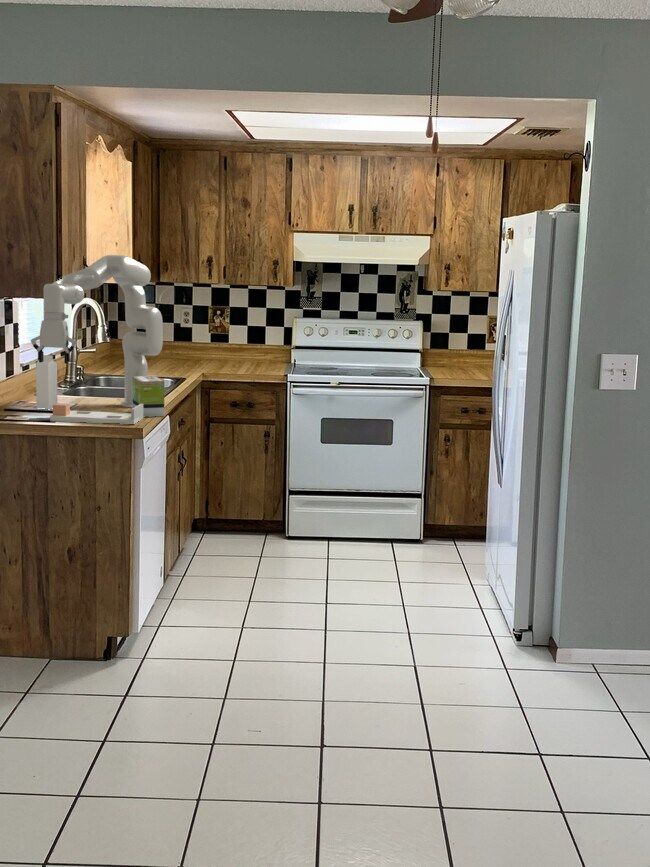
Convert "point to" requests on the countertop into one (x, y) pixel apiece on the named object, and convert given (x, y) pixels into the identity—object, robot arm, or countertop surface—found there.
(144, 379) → the tea box
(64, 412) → the block
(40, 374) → the milk
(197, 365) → the countertop surface
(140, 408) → the board
